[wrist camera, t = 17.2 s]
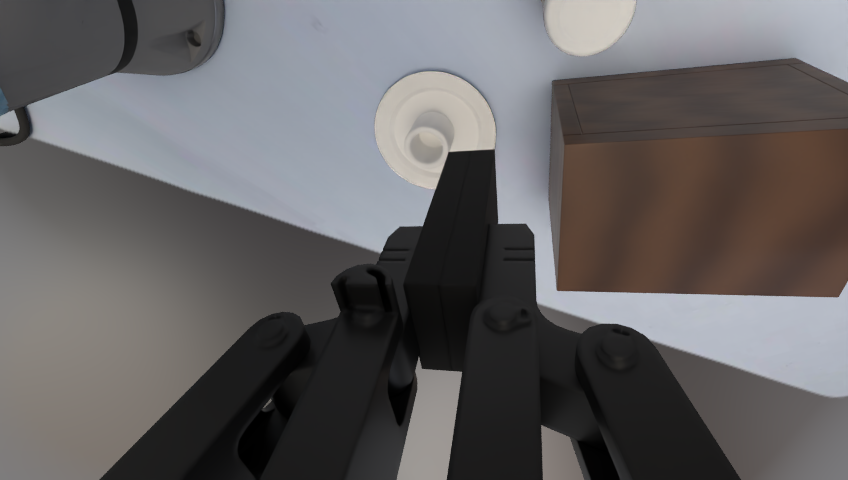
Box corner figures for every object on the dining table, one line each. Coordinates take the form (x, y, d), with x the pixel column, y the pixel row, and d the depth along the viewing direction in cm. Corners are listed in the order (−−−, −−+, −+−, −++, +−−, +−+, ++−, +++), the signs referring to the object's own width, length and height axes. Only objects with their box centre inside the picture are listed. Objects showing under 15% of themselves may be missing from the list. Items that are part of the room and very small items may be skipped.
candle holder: (512, 167, 42) (511, 188, 38) (407, 198, 46) (397, 219, 43) (470, 47, 36) (465, 59, 33) (355, 96, 41) (340, 111, 37)
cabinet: (548, 199, 43) (556, 291, 32) (552, 80, 36) (564, 144, 25) (749, 193, 39) (838, 297, 28) (795, 57, 32) (939, 123, 21)
